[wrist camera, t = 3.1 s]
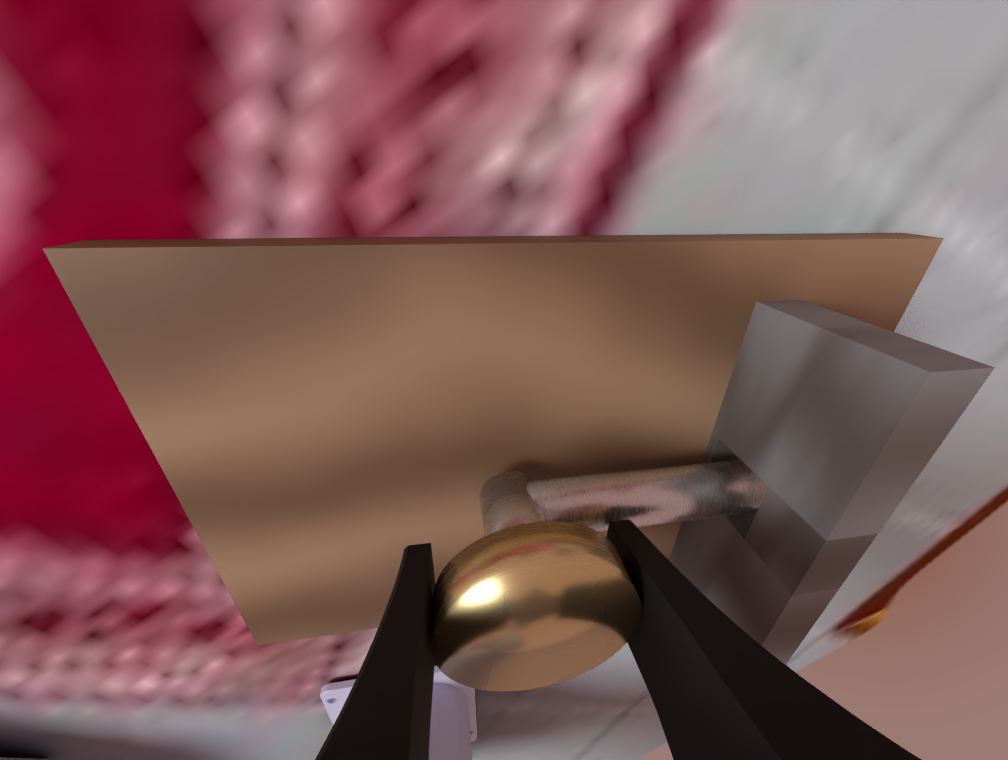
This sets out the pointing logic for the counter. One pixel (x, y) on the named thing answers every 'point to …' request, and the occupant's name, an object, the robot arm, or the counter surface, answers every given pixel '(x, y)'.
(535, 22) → the counter surface
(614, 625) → the brass knob with shaft
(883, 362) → the wooden board
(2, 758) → the wall hook
